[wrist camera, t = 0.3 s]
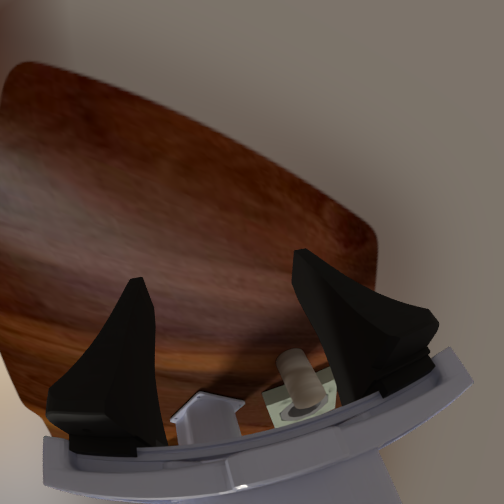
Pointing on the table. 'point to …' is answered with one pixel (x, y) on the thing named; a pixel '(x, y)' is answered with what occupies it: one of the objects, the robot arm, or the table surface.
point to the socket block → (285, 409)
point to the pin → (300, 378)
